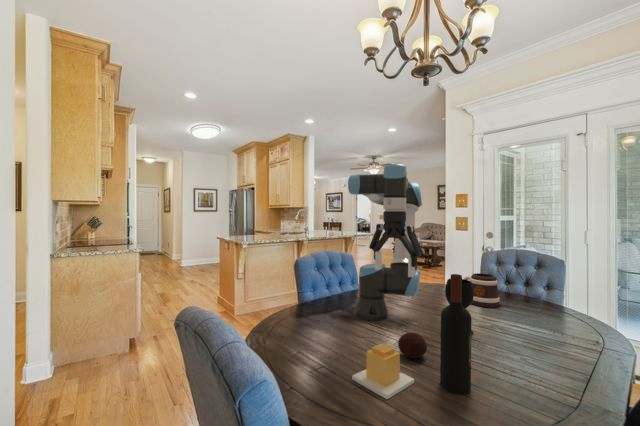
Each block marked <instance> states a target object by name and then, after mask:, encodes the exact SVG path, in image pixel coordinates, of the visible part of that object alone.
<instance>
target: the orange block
mask: <svg viewBox="0 0 640 426" xmlns="http://www.w3.org/2000/svg"><path fill="white" fill-rule="evenodd" d="M400 363H401V352H398V351H396V349H395V348H394V347H393V346H389V345H387V344H385V343H379V344H377V345H374V346H372V347H371V349H369V350H367V351H366V368H365V369H366V377H368V378H370V379H371V380H373V381H375V382H377V383H379V384H381V385H382V386H384V387H386V386H387V385H389V384H391V383H393V382H394V381H396V380H398V379H400V371H401V369H400V368H401V365H400Z"/></svg>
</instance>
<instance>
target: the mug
mask: <svg viewBox="0 0 640 426" xmlns="http://www.w3.org/2000/svg"><path fill="white" fill-rule="evenodd" d="M463 279H465V280H469V281H471V282H472V286H473V291H474V298H473V301H472V303H471V304H470V305H473V306H476V307H480V308H492V309H493V308H498V307H499V306H500V301H501V300H500V299H501V298H500V297H499V289H498V284H499V281H498V279H497V277H496V276H495V275H493V274H490V273H489V274H488V273H472V274H471V276H470V275H466V276H465V277H463Z"/></svg>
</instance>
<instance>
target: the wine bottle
mask: <svg viewBox="0 0 640 426" xmlns="http://www.w3.org/2000/svg"><path fill="white" fill-rule="evenodd" d="M450 279H451V301H450V304H449V303H448V305H447V306H445V307H444V308H443V309H442V310H441V311H440V312H441V314H440V360H439V361H440V366H439V368H440V369H439V370H440V373H439V375H440V378H439V380H440V381H439V383H440V384H439V385H440V387H441V388H442V389H443V390H444V391H446V392H447V393H451V394H455V395H458V396H459V395H462V396H463V395H468V394H470V393H471V391H472V390H471V389H472V386H471V385H472V335H471V330H472V315H471V313H470V311H469V310H467V308H466V309H465V308H464V307H463V306H462V279H463V275H462V274H457V273H451V274H450Z"/></svg>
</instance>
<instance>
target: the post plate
mask: <svg viewBox="0 0 640 426" xmlns="http://www.w3.org/2000/svg"><path fill="white" fill-rule="evenodd" d="M351 379H352V380H353V381H355V382H356V383H357V384H359V385H361V386H363V387H365V388H366V389H368V390H370V391H372V392H374V393H375V394H377V395H379V396H380V397H382V398H384V399H386V400H389V399H390V398H392V397H393V396H395V395H397V394H398V393H400V392H402V391H404V390H405V389H406V388H408V387H411V386H412V385H413V384H414V383H415V379H414V378H413V377H411V376H409V375H407V374H405V373H403V372H400V379H398V380H396V381H394V382H393V383H391V384H389V385H387V386H386V387H384V386H382V385H381V384H379V383H377V382H375V381H373V380H371V379H370V378H368V377H366V368H365V369H364V370H361V371H359V372H357V373H355V374H352V377H351Z"/></svg>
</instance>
